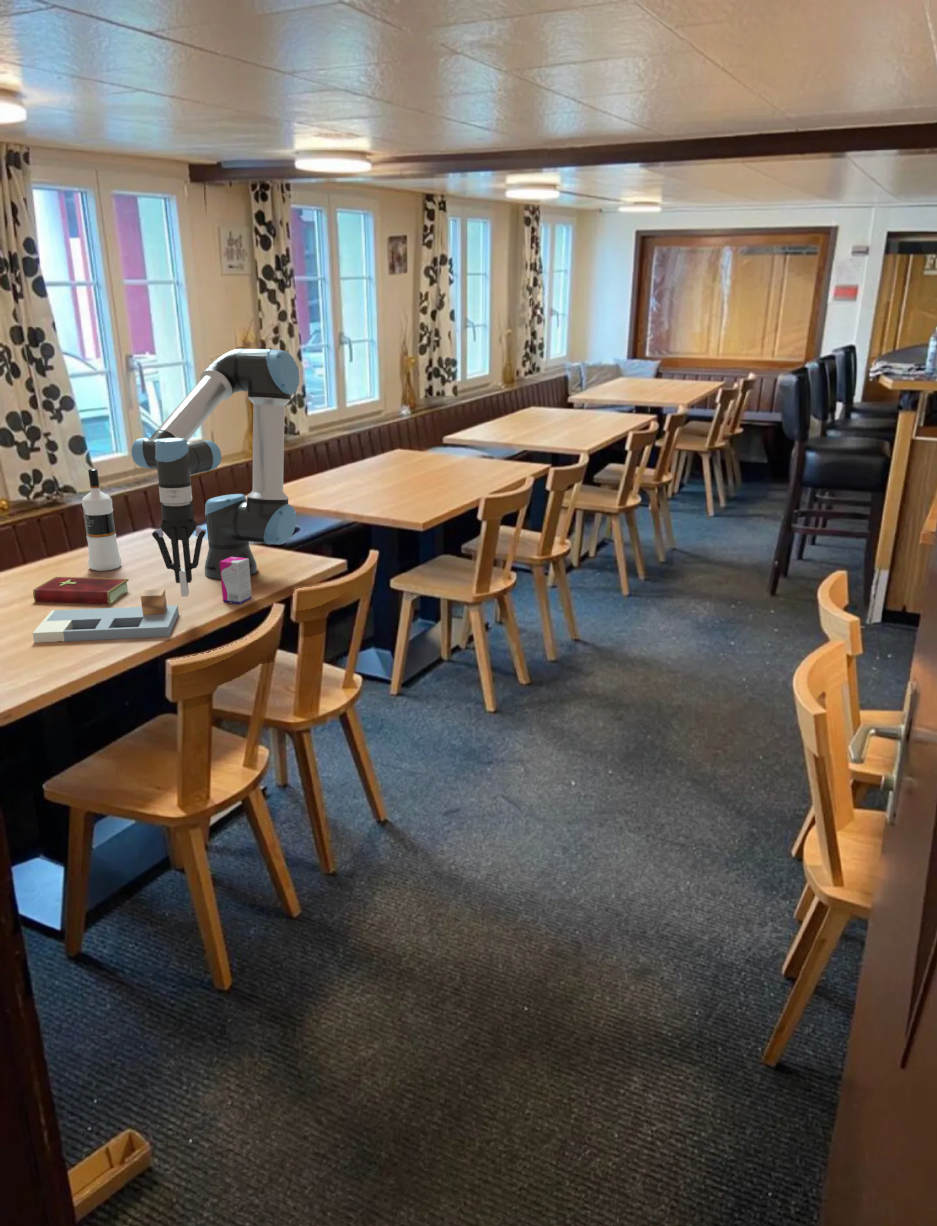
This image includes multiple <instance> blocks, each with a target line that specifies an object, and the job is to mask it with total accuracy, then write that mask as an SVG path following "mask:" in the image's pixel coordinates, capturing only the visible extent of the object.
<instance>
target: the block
mask: <svg viewBox="0 0 937 1226" xmlns="http://www.w3.org/2000/svg"><path fill="white" fill-rule="evenodd" d="M140 601H141V607H142V611H143V615H156V614H164V613H165V611H166V608H167V606H168V605H167V596H166V589H165V588H163V589H162V588H161V589H160V588H158V589H144V590H143V591H142V593H141V595H140Z"/></svg>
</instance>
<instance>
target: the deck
mask: <svg viewBox="0 0 937 1226" xmlns="http://www.w3.org/2000/svg"><path fill="white" fill-rule="evenodd" d="M179 615H180V613H179V605H178V604H177V605H167V608H166V611H165V613H164V614H156V615H143V611H142V606H128V607H106V608H105V607H104V608H103V607H102V608H79V609H77V608H76V609H54V610H53V609H52V610H51V611H50V612H49V613H48V614H47V616H46V617H44V619H43V620H42V621H41V623H39V624H38V626H37V627H36V629H34V631H33V632H32V637H33V642H34V643H35V644H37V643H39V644H40V643H58V642H57V641H62V642H79V641H84V642H85V641H101V640H125V639H144V638H165V637H166V638H167V637H168V638H169V637H170V636H171V633H172V631H173V629H174V627H175V624H176V623H177V622H176V621H177V620H176V619H178V617H179Z"/></svg>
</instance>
